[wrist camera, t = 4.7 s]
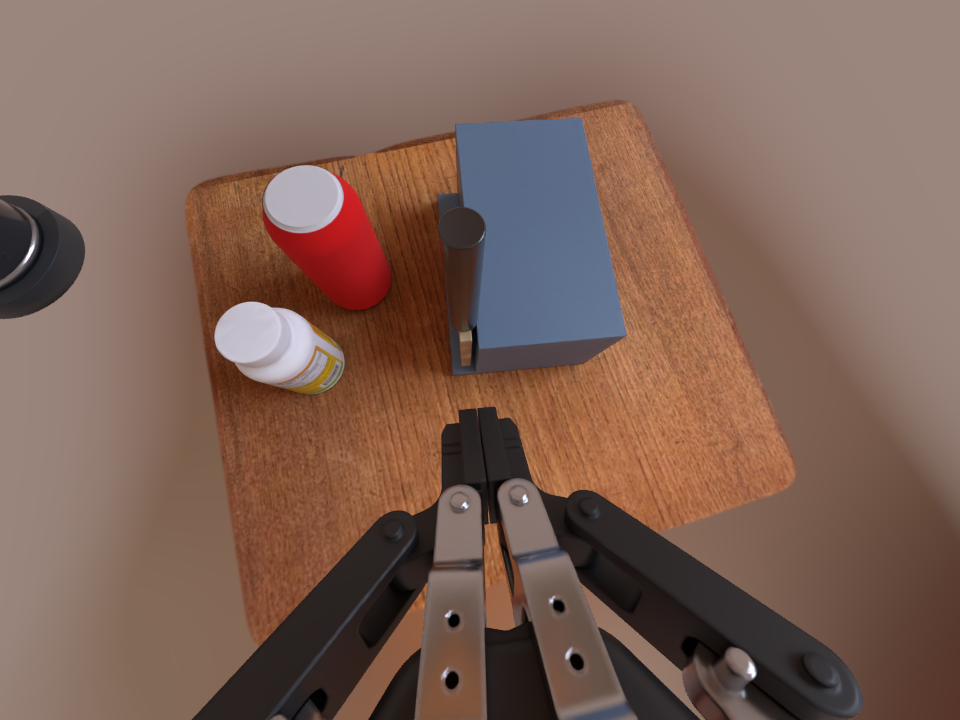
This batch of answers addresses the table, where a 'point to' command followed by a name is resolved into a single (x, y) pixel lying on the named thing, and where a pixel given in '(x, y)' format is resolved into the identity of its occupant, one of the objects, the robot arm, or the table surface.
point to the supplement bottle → (279, 348)
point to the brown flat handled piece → (462, 270)
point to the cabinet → (535, 247)
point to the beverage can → (327, 235)
